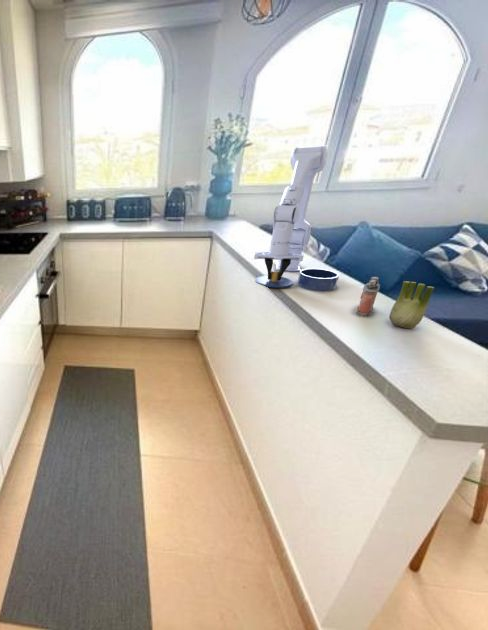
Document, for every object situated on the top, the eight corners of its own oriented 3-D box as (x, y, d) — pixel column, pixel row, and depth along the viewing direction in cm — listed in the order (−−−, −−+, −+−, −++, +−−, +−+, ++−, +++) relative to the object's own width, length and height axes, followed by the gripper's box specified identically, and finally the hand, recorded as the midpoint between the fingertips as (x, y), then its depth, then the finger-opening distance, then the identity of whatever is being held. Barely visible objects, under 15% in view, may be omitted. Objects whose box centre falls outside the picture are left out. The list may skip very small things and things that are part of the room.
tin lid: (254, 277, 130) (256, 265, 128) (290, 279, 125) (292, 267, 123) (255, 287, 121) (257, 275, 119) (293, 290, 116) (296, 277, 114)
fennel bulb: (421, 330, 87) (439, 286, 82) (401, 331, 87) (417, 287, 82) (401, 320, 92) (417, 278, 87) (382, 321, 92) (397, 279, 87)
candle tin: (295, 279, 125) (298, 267, 123) (332, 281, 121) (335, 269, 119) (299, 289, 116) (302, 277, 115) (338, 292, 112) (341, 279, 110)
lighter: (359, 305, 102) (369, 273, 98) (374, 308, 100) (384, 275, 96) (354, 314, 97) (364, 281, 93) (369, 317, 95) (380, 283, 91)
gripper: (257, 243, 117) (251, 281, 122) (307, 244, 111) (299, 284, 116) (256, 238, 122) (251, 275, 128) (304, 239, 116) (296, 277, 122)
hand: (273, 279), depth 123 cm, fingers closed on tin lid, 2 cm apart
